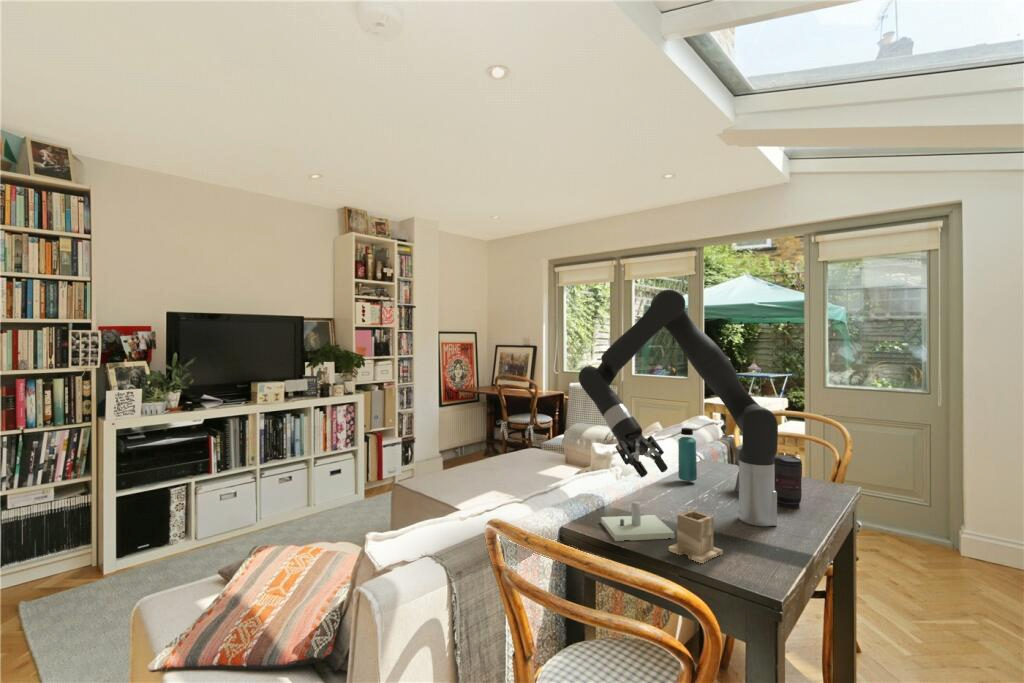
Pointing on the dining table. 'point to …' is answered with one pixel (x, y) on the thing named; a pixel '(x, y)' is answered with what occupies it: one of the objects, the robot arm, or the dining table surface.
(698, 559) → the flange collar
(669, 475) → the dining table surface
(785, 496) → the camera lens
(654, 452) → the robot arm
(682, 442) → the beverage bottle
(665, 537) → the post plate
